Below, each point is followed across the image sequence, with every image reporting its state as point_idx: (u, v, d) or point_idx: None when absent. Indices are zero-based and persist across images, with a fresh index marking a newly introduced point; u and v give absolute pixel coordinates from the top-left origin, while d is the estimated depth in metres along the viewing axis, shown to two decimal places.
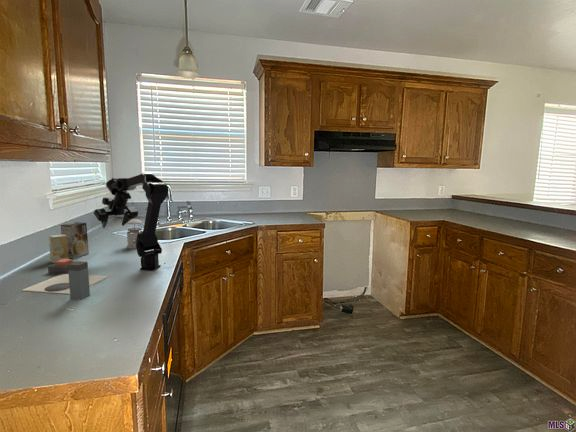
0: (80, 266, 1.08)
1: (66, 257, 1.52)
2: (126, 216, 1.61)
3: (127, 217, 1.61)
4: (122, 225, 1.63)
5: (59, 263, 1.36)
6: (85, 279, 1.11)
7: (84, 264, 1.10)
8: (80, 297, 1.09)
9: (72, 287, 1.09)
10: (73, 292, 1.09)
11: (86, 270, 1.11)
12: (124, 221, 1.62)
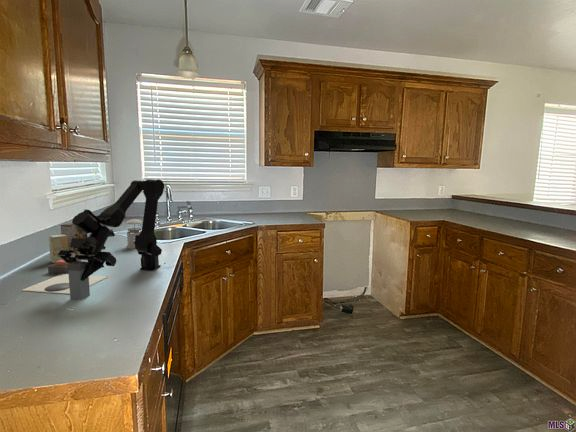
0: (80, 266, 1.08)
1: None
2: None
3: None
4: None
5: (59, 263, 1.36)
6: (85, 279, 1.11)
7: (84, 264, 1.10)
8: (80, 297, 1.09)
9: (72, 287, 1.09)
10: (73, 292, 1.09)
11: None
12: None
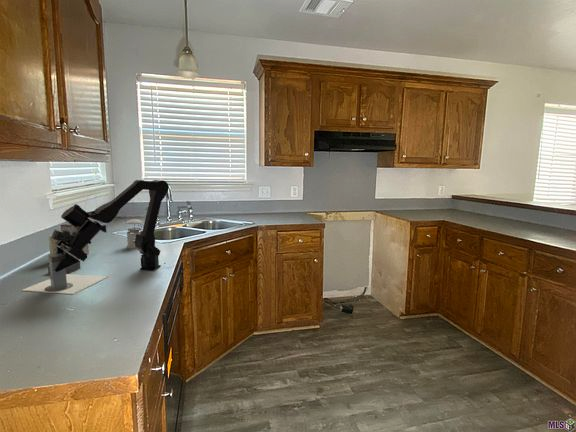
0: (53, 258, 1.15)
1: None
2: (63, 253, 1.23)
3: None
4: None
5: None
6: (60, 271, 1.17)
7: (60, 257, 1.16)
8: (53, 287, 1.16)
9: (51, 276, 1.18)
10: (51, 281, 1.18)
11: None
12: None
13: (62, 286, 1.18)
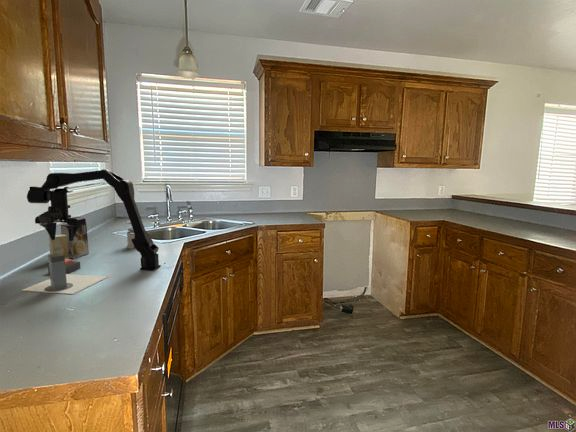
0: (53, 258, 1.15)
1: (66, 257, 1.52)
2: (52, 225, 1.36)
3: (53, 225, 1.37)
4: (54, 239, 1.37)
5: None
6: (60, 271, 1.17)
7: (59, 257, 1.16)
8: (53, 287, 1.16)
9: (50, 277, 1.18)
10: (51, 281, 1.18)
11: (62, 263, 1.17)
12: (54, 232, 1.37)
13: (62, 286, 1.18)
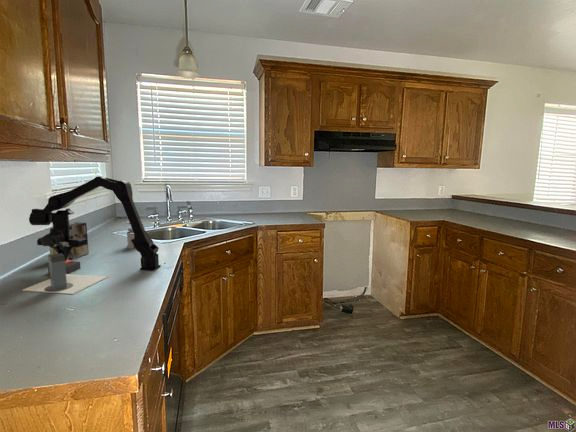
0: (53, 258, 1.15)
1: None
2: None
3: None
4: None
5: None
6: (60, 271, 1.17)
7: (59, 257, 1.16)
8: (53, 287, 1.16)
9: (50, 277, 1.18)
10: (51, 281, 1.18)
11: (62, 263, 1.17)
12: None
13: (62, 286, 1.18)
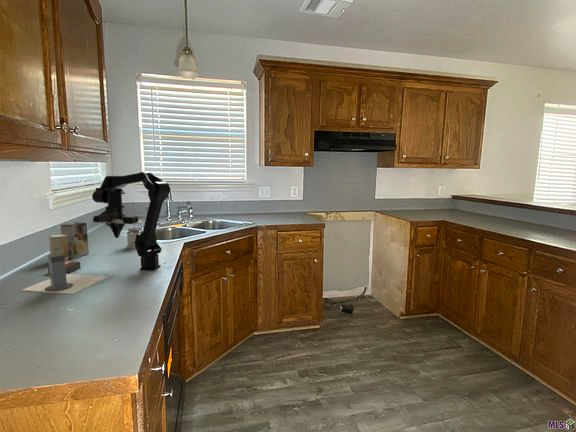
0: (53, 258, 1.15)
1: (66, 257, 1.52)
2: None
3: None
4: None
5: None
6: (60, 271, 1.17)
7: (59, 257, 1.16)
8: (53, 287, 1.16)
9: (50, 277, 1.18)
10: (51, 281, 1.18)
11: (62, 263, 1.17)
12: None
13: (62, 286, 1.18)
